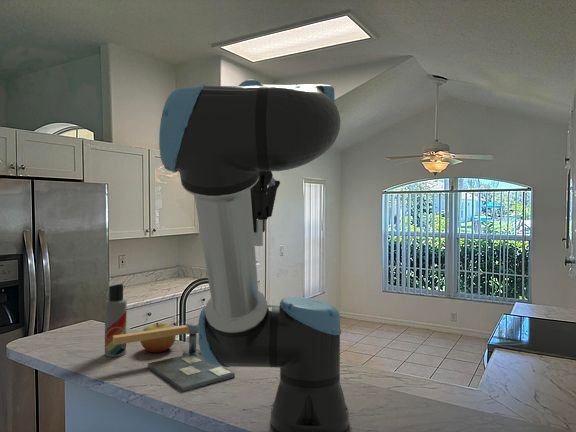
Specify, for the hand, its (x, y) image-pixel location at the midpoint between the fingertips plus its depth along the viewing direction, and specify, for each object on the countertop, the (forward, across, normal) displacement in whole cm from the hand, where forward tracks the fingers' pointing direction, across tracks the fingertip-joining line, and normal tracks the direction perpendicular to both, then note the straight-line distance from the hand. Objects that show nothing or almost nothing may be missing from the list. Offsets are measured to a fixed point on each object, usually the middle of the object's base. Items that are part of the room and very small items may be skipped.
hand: (257, 245), depth 105 cm
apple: (+33, +11, -34) cm, 48 cm away
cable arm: (+26, +15, -25) cm, 39 cm away
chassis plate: (+32, +12, -12) cm, 37 cm away
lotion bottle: (+33, +22, -38) cm, 55 cm away
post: (+32, +5, -24) cm, 41 cm away
